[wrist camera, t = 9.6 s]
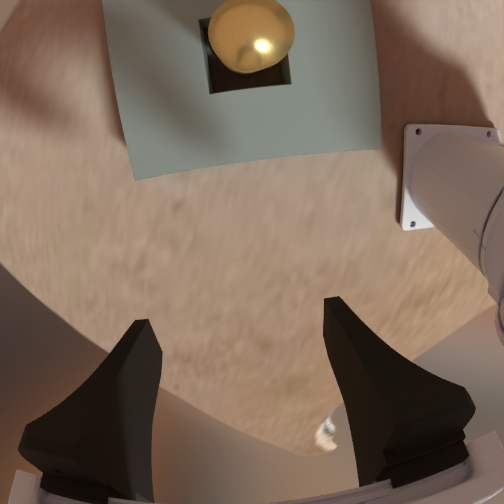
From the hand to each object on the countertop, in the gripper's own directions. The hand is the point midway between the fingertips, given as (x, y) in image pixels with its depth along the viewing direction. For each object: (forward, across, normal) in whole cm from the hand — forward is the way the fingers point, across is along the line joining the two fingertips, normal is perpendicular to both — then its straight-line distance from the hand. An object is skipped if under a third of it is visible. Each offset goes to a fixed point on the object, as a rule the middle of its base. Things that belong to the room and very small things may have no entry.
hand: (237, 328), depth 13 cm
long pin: (+10, -2, -11) cm, 15 cm away
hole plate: (+10, -2, -11) cm, 15 cm away
